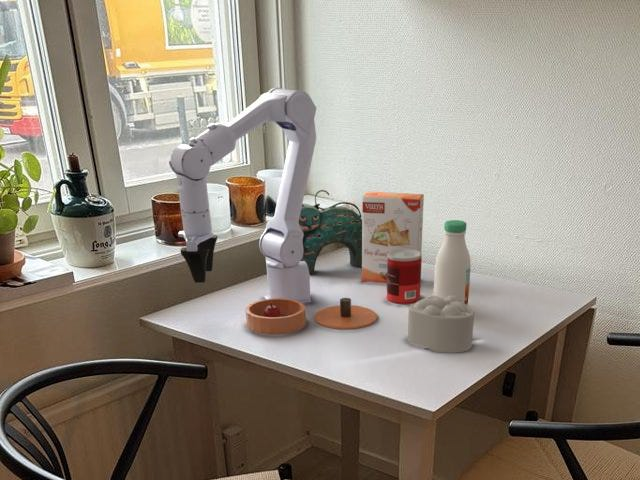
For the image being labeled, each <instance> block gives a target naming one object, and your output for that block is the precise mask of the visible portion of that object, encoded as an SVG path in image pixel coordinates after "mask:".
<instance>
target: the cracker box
mask: <svg viewBox="0 0 640 480" xmlns="http://www.w3.org/2000/svg"><path fill="white" fill-rule="evenodd" d="M424 201H425V194H424V193H408V192H406V193H405V192H387V191H371V190H370V191H368V190H367V191H366V192H365V193H364V194H363V195H362V205H361V206H362V208H361V209H362V211H361V219H362V267H361V283H370V282H372V283H386V284H387V256H388V253H389V252H390V251H393V250H397V249H412V250H417V251H419V252H421V253H422V246H423V228H424V227H423V225H424V203H425V202H424Z"/></svg>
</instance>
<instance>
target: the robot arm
mask: <svg viewBox="0 0 640 480" xmlns="http://www.w3.org/2000/svg"><path fill="white" fill-rule="evenodd" d="M316 112H317V106H316V104H315V103H314V101H313V99H312V98H311V96H310V94H309V93H307V92H306V91H305V90H300V89H298V90H295V89H287V88H283V87H272V88H271V89H270V90H268V91H267V92H264V93H262V94H261V95H260V96H259V98H258V99H257V100H256V101H254V102H253V103H252V104H251V105H249V106H248V107H247V108H245V109H244V110H242V111H241V112H240V113H239V114H238V115H236V116H235V117H234V118H233V119H232V120H230V121H229V122H228V123H226V124H224V123H222V122H216V123H213V122H210V123H209V124H208V125H206V128H207V129H206V130H204V131H203V132H202V133H200V134H199V135H197V136H196V137H191V138H189V139H188V144H179V145H178V146H176V147H174V149H173V150H172V153H171V155H170V159H169V161H168V164H169V167H170V169H171V171H172V172H173V173H174V174H175V176H176V183H177V191H178V199H179V206H180V213H181V220H182V221H181V222H182V229H183V230H180V231H179V232H178V233H177V236H178V237H180V238H184V240H185V247H184V246H183V247H181V248H180V250H179V251H180V255H181V256H182V257H183V258H184V260H185V262H186V264H187V267H188V268H189V271H190V274H191V277H192V279H193V281H194V283H195V284H197V283H202V284H203V283H205V282H206V278H207V272H212V271H213V265H214V253H215V247H216V244H217V241H218V235H217V234H214V230H213V228H212V218H211V217H212V216H211V211H210V210H211V209H210V202H209V192H208V183H207V176H208V175H209V173H210V170H211V167H212V166H214V165H215V164H216V163H218V162H220V161H221V160H222V159H224V158H225V157H226V156H227V155H229V154H230V153H232V152H233V151H235V150H236V145H237V141H238V140H240V139H241V138H243V137H244V136H246V135H248V134H249V133H251V132H253V131H254V130H256V129H257V128H259V127H261V126H263V124H265V123H267V122H274V124H276V125H277V127H279V128H280V129H281V130H282V132H283V133H284V135H285V136H286V138H287V140H288V146H287V150H286V151H287V152H286V155H285V156H286V157H285V161H284V166H283V171H282V176H281V180H280V184H279V190H278V195H277V201H276V206H275V211H274V216H273V217H271V218H270V219H269V220H268V221H267V222H266V224H265V229H264V231H263V233H262V234H261V236H260V237H259V243H258V248H259V251H260V253H261V255H263V256H264V258H265V264H266V280H267V290H268V291H267V292H268V293H267V295H264V296H263V298H264V299H271V298H284V299H292V300H297V301H299V302H301V303H303V304H305V303H311V302H312V300H311V278H310V277H311V276H310V274H309V269H308V266H307V264H306V262H305V261H300V260H301V258H302V256H303V251H304V250H303V235H304V234H303V231H302V229H301V227H300V225H299V217H300V213H301V208H302V203H303V202H304V198H305V193H306V189H307V184H308V180H309V176H310V172H311V171H310V170H311V166H312V160H313V156H314V152H315V148H316V147H315V146H316V142H317V131H316V123H315V117H316Z"/></svg>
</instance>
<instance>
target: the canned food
mask: <svg viewBox="0 0 640 480" xmlns="http://www.w3.org/2000/svg"><path fill="white" fill-rule="evenodd" d="M422 257H423V256H422V251H421V252H419V251H417V250H412V249H397V250H393V251H390V252H389V253H388V256H387V283H386V299H387V301H388V302H390V303H393V304H398V305H411V304H415V303H417V302H418V301H420V300H421V299H420V298H421V285H422V284H421V283H422V261H423V260H422V259H423V258H422Z"/></svg>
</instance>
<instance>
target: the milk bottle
mask: <svg viewBox="0 0 640 480" xmlns="http://www.w3.org/2000/svg"><path fill="white" fill-rule="evenodd" d="M467 224H468V223H467V222H466V221H464V220H459V219H451V220H446V221H445V222H444V225H443V226H444V227H443V233H444V238H443V242H442V244H441V246H440V248H439V251H438V253H437V255H436V259H435V264H434V265H435V266H434V275H433V276H434V278H433V295H435V296H438V297H440V298H444V299H446V298H447V297H448V296H457V297H458V298H459V299H460V300H461V302H462V303H465V304H466V305H468V306H469V297H470V296H469V294H470V282H471V266H472V265H471V256H470V253H469V249H468V246H467V243H466V238H465V237H466V233H467V226H468V225H467Z"/></svg>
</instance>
